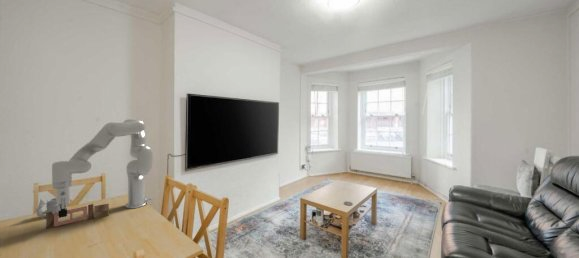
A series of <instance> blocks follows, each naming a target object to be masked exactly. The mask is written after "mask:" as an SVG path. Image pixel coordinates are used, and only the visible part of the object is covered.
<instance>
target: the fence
mask: <svg viewBox="0 0 579 258" xmlns="http://www.w3.org/2000/svg"><path fill="white" fill-rule="evenodd" d="M109 205H110V204H109V203H104V204H98V205H94V204H93V203H91V204H88V205H87V220H89V221H91V220H94V219H98V218H102V217H107V216H109V215H110V214H109V213H110V212H109V211H110V210H109V207H110V206H109ZM45 219H46V220H45V225H46V229H48V230H49V229H51V228H53V227H54V214H53V213H52V212H47V213H46V214H45Z"/></svg>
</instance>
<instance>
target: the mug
mask: <svg viewBox="0 0 579 258" xmlns="http://www.w3.org/2000/svg"><path fill="white" fill-rule="evenodd" d="M45 205H46V210H44V211H43V210H42V208H43V207H44V206H45ZM35 212H36V215H37V216H38V217H39V218H43V217H44V216H46V213H47V212H52V213H53V214H54V213H56V212H59V207H58V205H57V201H56V197H53V198H49V199H47V201H44V200H43V199H42V198H41V199H40V201H39V203H38V206H37V208H36V211H35Z"/></svg>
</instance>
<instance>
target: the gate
mask: <svg viewBox="0 0 579 258" xmlns="http://www.w3.org/2000/svg"><path fill="white" fill-rule="evenodd" d="M79 212H83V213H82V214H83V215H82V216H79V217H74V218H73V213H79ZM67 215H69V219H65V220H62V221H59V212H56V213H54V226H53V227H59V226H61V225H66V224H67V225H68V224H70V223H75V222H80V221H83V220H88V205H86V206H82V207H76V208H71V209H67Z"/></svg>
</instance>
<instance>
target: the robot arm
mask: <svg viewBox="0 0 579 258" xmlns="http://www.w3.org/2000/svg"><path fill="white" fill-rule="evenodd" d="M145 128H146V124H145V122H144V121H142V120H139V119H132V118H131V119H128V118H127V119H125V120H124V121H123V122H112V121H111V122H108V123H107V122H106V123H105V125H103V127H102V128H101V129H100V130H99V131H98V132H97V133H96V134H95V135H94V137H93V138H92V139H91V140H90V141H89V142H87V143H86V144H84V145H83V146H82V147H80V148H79V149H78V150H77V151H76V152H75V153H74V154H73V156H72V157H71V158H70V159H69V160H61V161H55V162H53V163H52V164H51V174H52V175H51V176H52V177H51V184H52V187H51V188H52V189H53V190H55V198H56V201H57V205H58V207H59V216H58V219H60V218H65V217H68V214H67V210H68V208H67V205H70V204H71V191H70V187H72V185H73V179H72V178H73V174H85V173H87V172H89V171H90V170H91V168H92V164H91V162H90V161H88V160H90V158H91V157H92V156H93V155H95V154H97V153H99V152H102V151H103V150H105V149H107V147H109V145H110V144H111V143H112V142H113V140H114V139H115V138H116V137H117V138H118V137H119V138H121V137H125V136H130V137H131V138H130V149H129V154H130V156H131V157H132V158H133V160H130V161H129V162H128V163H127V165H126V174H127V190H128V191H127V203H126V204H125V205H124V207H125V208H127V209H137V208H142V207H144V206H146V205H147V204H148V201H153V197H151V196H147V197H145V195H146V193H145V183H146V182H145V179H146V178H145V176H148V175H149V174H150V173H151V170H152V168H153V157H154V153H153V149H152V148H151V147H150V146H148V145H147V136H146V132H145ZM145 202H146V203H147V204H146V203H145Z"/></svg>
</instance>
